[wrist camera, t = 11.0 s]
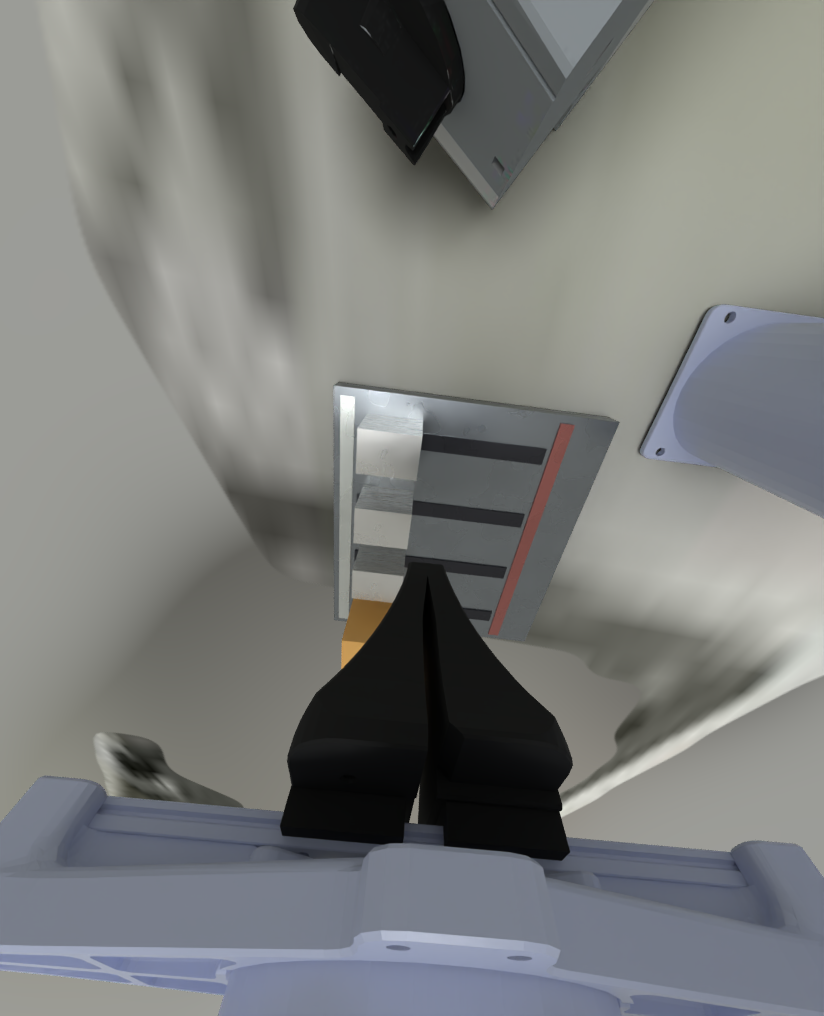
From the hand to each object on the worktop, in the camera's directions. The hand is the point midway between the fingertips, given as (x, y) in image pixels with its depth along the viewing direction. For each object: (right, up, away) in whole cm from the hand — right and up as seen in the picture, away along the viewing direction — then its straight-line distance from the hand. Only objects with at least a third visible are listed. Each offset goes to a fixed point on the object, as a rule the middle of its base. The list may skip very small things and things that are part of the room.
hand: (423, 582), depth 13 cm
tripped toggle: (-3, -5, +12) cm, 14 cm away
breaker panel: (+2, +1, +11) cm, 11 cm away
